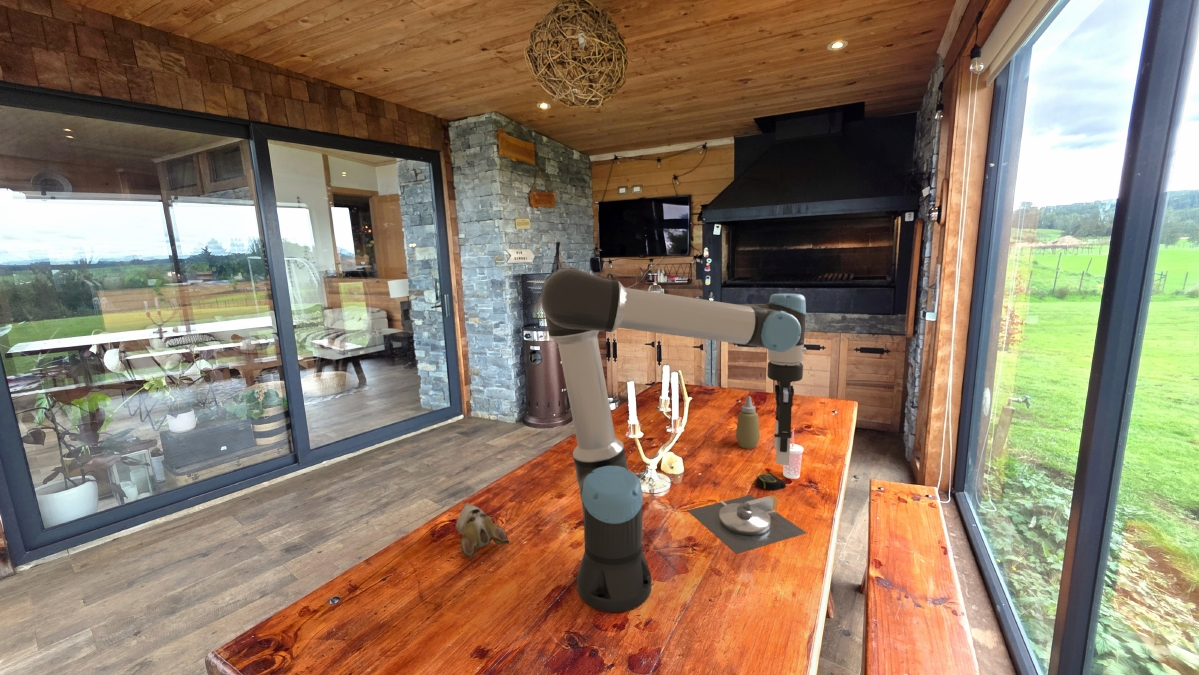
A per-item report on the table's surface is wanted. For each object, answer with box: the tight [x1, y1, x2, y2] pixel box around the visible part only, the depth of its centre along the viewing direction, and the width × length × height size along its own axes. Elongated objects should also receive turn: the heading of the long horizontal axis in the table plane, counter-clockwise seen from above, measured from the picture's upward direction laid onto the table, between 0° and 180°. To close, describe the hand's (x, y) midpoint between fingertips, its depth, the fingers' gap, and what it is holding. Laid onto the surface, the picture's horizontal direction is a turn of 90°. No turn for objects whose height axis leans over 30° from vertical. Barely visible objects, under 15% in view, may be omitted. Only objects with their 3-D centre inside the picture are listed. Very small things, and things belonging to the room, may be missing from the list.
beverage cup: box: [782, 430, 804, 480], centre depth 143 cm, size 6×6×14 cm
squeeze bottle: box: [735, 395, 761, 450], centre depth 165 cm, size 8×8×18 cm
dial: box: [719, 494, 779, 535], centre depth 117 cm, size 16×12×4 cm
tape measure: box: [755, 472, 787, 491], centre depth 135 cm, size 7×7×4 cm
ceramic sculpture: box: [455, 502, 511, 559], centre depth 112 cm, size 11×9×15 cm
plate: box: [687, 494, 807, 555], centre depth 117 cm, size 20×20×2 cm
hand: (781, 455), depth 111 cm, fingers open, 9 cm apart
